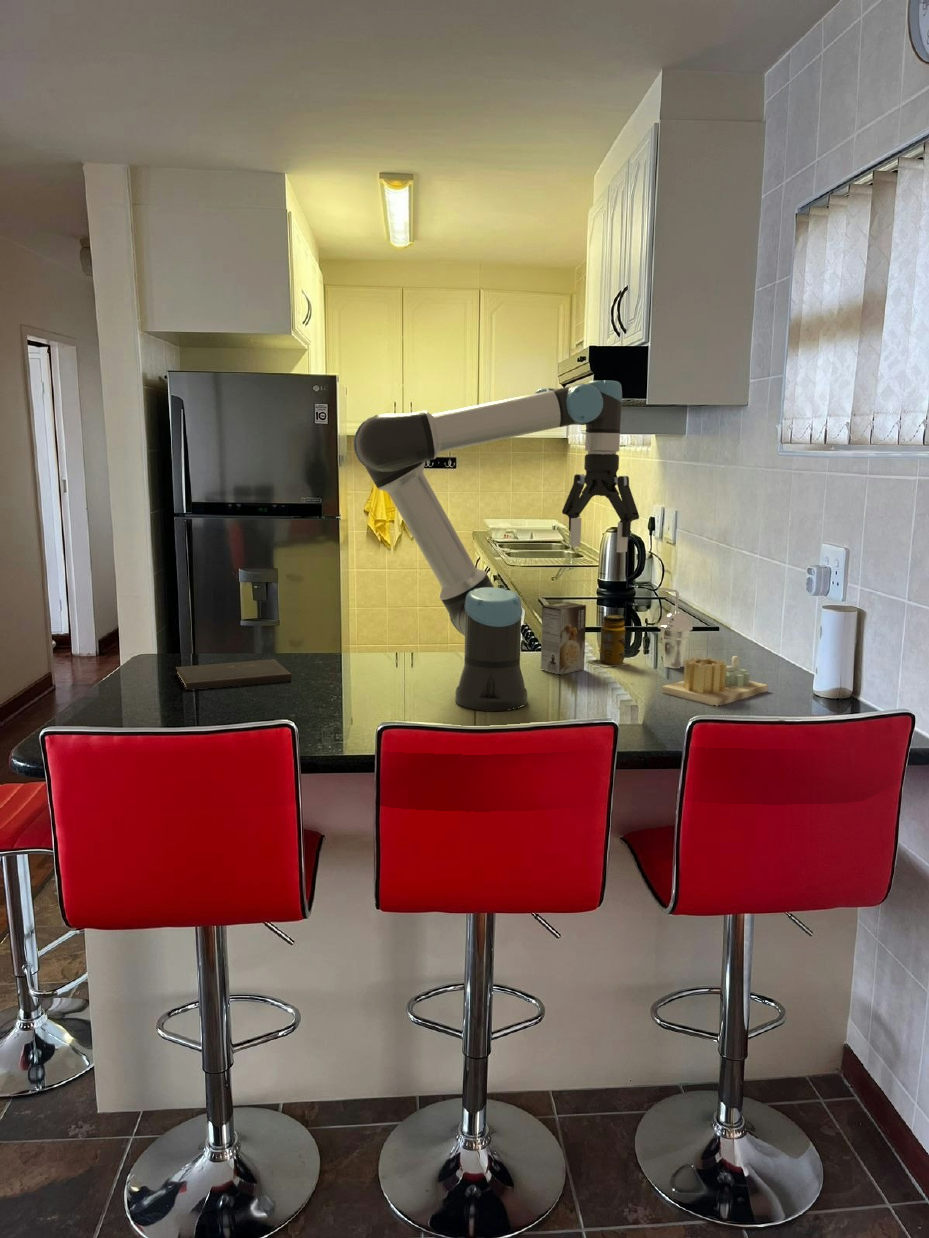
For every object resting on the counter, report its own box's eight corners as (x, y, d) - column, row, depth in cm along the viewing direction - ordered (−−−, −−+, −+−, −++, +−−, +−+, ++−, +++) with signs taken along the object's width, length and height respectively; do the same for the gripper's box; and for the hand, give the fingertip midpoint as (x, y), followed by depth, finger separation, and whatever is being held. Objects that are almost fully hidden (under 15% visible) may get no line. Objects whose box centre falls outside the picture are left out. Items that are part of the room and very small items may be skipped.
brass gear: (709, 696, 192) (711, 668, 191) (675, 687, 198) (677, 661, 197) (732, 689, 197) (734, 662, 196) (698, 681, 204) (700, 655, 203)
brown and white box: (565, 665, 224) (567, 601, 221) (584, 669, 220) (587, 605, 217) (539, 670, 218) (541, 605, 215) (559, 675, 214) (561, 608, 211)
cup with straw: (688, 671, 220) (694, 590, 216) (651, 668, 222) (655, 588, 219) (691, 664, 228) (696, 585, 224) (655, 660, 230) (660, 583, 227)
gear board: (716, 706, 189) (717, 699, 189) (662, 692, 200) (662, 686, 199) (767, 691, 202) (767, 684, 202) (713, 678, 213) (713, 672, 212)
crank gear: (734, 688, 198) (736, 664, 197) (701, 680, 205) (702, 657, 204) (756, 682, 204) (757, 659, 203) (722, 675, 210) (724, 652, 209)
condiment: (630, 664, 227) (633, 617, 224) (605, 668, 222) (607, 620, 220) (611, 658, 233) (613, 612, 230) (586, 662, 228) (588, 615, 226)
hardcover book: (176, 676, 209) (175, 667, 208) (275, 668, 218) (274, 659, 218) (186, 693, 194) (186, 683, 194) (291, 683, 204) (291, 673, 204)
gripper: (658, 454, 192) (653, 553, 196) (571, 452, 210) (567, 543, 214) (636, 453, 187) (631, 555, 191) (549, 452, 205) (545, 545, 209)
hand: (597, 549), depth 203 cm, fingers open, 13 cm apart
